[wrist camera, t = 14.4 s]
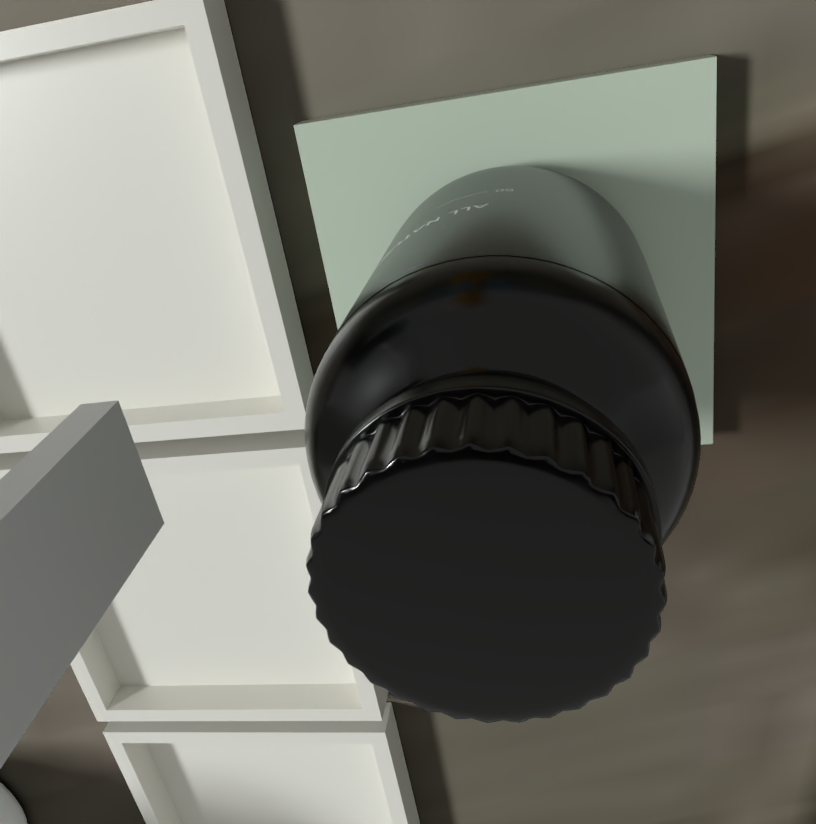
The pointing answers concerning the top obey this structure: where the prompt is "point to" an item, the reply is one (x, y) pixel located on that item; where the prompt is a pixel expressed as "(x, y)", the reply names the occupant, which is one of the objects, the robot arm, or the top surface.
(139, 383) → the tray
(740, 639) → the top surface
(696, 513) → the top surface
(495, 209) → the supplement bottle
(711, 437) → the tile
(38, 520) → the robot arm
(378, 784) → the tray
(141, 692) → the tray middle
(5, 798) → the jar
